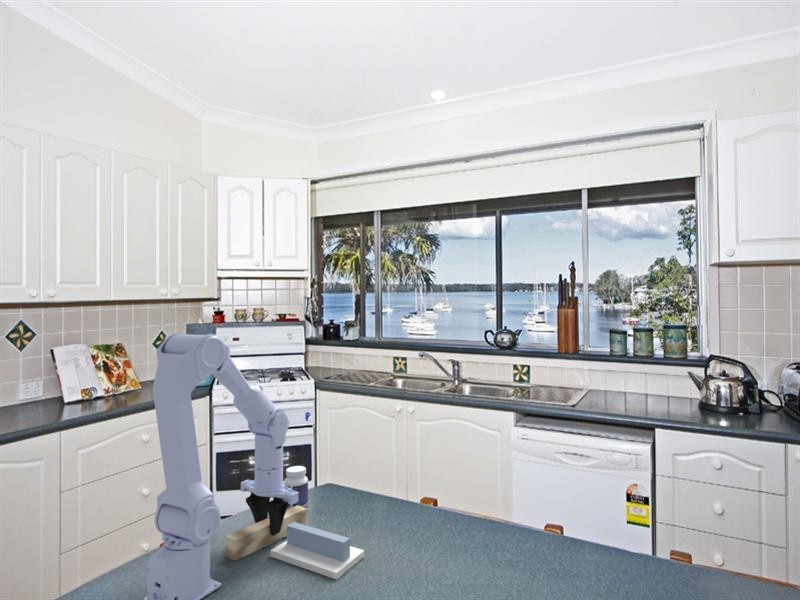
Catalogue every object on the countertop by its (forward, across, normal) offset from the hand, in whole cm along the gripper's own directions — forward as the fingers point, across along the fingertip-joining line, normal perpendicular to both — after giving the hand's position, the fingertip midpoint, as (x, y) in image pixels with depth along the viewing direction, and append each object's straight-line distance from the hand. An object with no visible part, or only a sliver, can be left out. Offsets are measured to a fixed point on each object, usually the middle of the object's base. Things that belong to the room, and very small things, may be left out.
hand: (268, 531), depth 99 cm
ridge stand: (+2, -13, 0) cm, 13 cm away
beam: (+2, 0, 0) cm, 2 cm away
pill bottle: (+2, +5, -14) cm, 15 cm away
